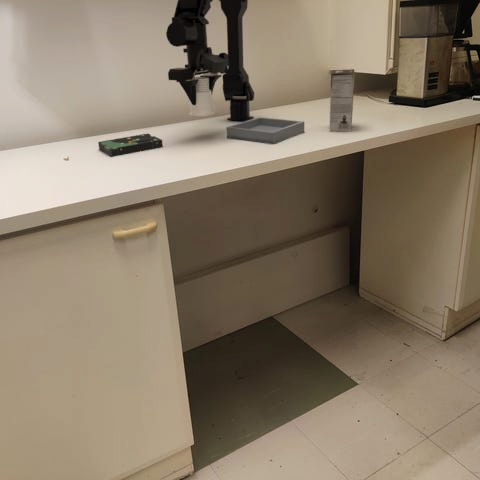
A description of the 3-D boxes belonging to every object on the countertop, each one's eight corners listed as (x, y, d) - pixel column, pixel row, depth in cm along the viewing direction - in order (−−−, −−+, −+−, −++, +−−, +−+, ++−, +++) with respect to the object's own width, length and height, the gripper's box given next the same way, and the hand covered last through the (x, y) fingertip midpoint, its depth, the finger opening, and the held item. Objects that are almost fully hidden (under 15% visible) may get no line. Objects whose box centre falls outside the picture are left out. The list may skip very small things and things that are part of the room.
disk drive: (148, 142, 139) (98, 151, 132) (147, 133, 138) (97, 141, 131) (163, 149, 132) (111, 158, 124) (162, 139, 130) (110, 148, 123)
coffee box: (330, 125, 147) (331, 69, 140) (351, 124, 145) (354, 68, 139) (329, 131, 139) (330, 73, 132) (351, 131, 137) (354, 72, 130)
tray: (259, 126, 149) (259, 117, 148) (304, 132, 140) (304, 121, 138) (227, 137, 138) (226, 127, 136) (273, 144, 128) (273, 132, 127)
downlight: (183, 115, 136) (181, 79, 132) (195, 111, 142) (193, 75, 137) (208, 118, 133) (207, 80, 129) (219, 113, 139) (218, 77, 135)
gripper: (195, 46, 118) (200, 111, 125) (241, 41, 131) (244, 99, 138) (163, 46, 125) (170, 108, 131) (210, 41, 138) (214, 97, 144)
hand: (201, 103), depth 136 cm, fingers closed on downlight, 6 cm apart
